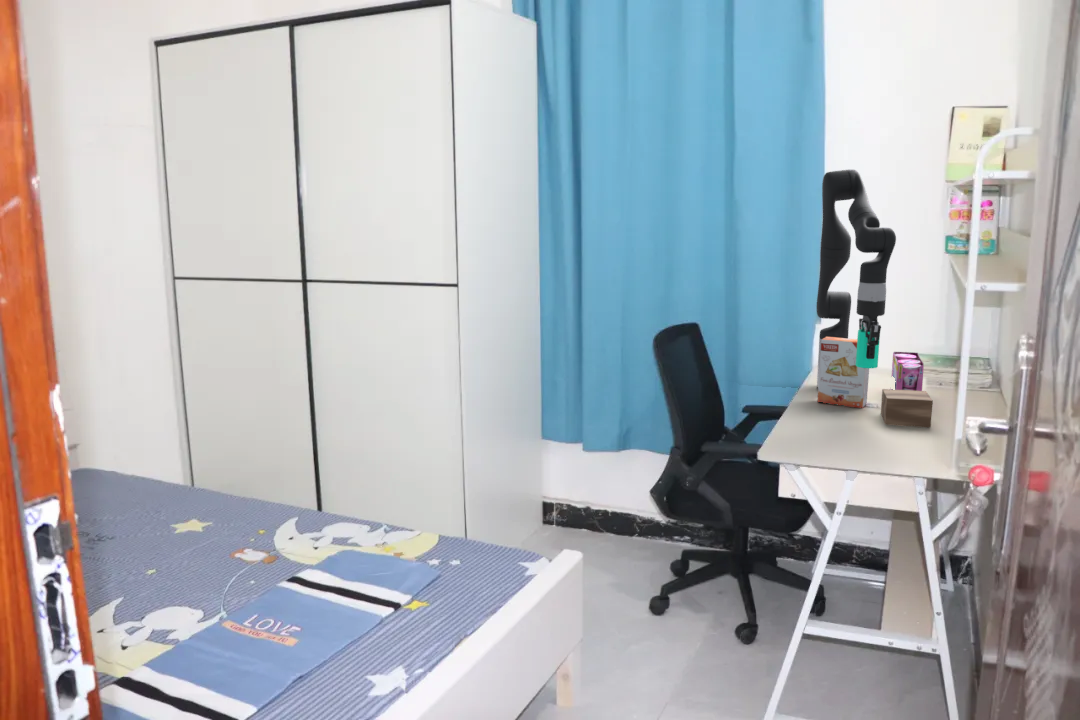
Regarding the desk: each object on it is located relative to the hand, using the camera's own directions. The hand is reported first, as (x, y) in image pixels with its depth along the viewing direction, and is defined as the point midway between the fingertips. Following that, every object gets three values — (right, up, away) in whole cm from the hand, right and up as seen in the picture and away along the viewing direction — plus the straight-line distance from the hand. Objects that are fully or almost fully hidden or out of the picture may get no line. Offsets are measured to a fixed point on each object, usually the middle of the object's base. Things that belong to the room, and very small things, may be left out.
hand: (867, 356), depth 239 cm
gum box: (+24, -14, +29) cm, 40 cm away
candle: (0, -3, +1) cm, 3 cm away
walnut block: (+12, -19, +3) cm, 23 cm away
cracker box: (+1, -15, +23) cm, 28 cm away
